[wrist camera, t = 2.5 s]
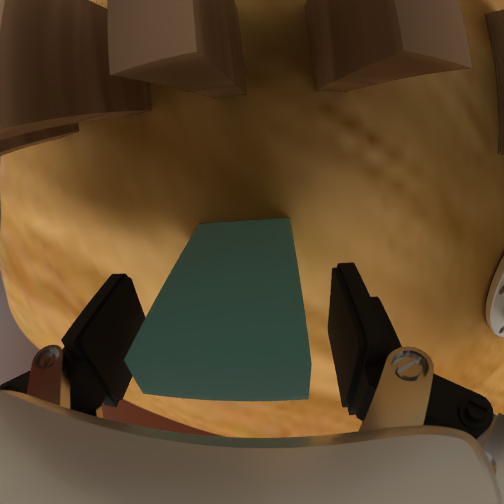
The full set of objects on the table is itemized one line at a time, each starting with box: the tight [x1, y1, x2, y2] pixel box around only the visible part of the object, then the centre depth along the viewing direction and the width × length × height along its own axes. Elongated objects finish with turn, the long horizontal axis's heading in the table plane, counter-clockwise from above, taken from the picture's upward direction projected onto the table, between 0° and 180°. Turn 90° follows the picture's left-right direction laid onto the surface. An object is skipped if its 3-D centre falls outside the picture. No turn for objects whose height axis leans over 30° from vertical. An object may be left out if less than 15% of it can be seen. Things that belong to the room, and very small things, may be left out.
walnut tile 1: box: [0, 123, 79, 156], centre depth 8 cm, size 2×5×10 cm, turn 5°
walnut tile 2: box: [0, 0, 152, 140], centre depth 7 cm, size 2×5×10 cm, turn 6°
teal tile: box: [124, 218, 311, 401], centre depth 11 cm, size 2×5×10 cm, turn 96°
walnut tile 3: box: [108, 0, 246, 98], centre depth 7 cm, size 2×5×10 cm, turn 5°
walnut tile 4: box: [305, 0, 472, 92], centre depth 7 cm, size 2×5×10 cm, turn 6°
